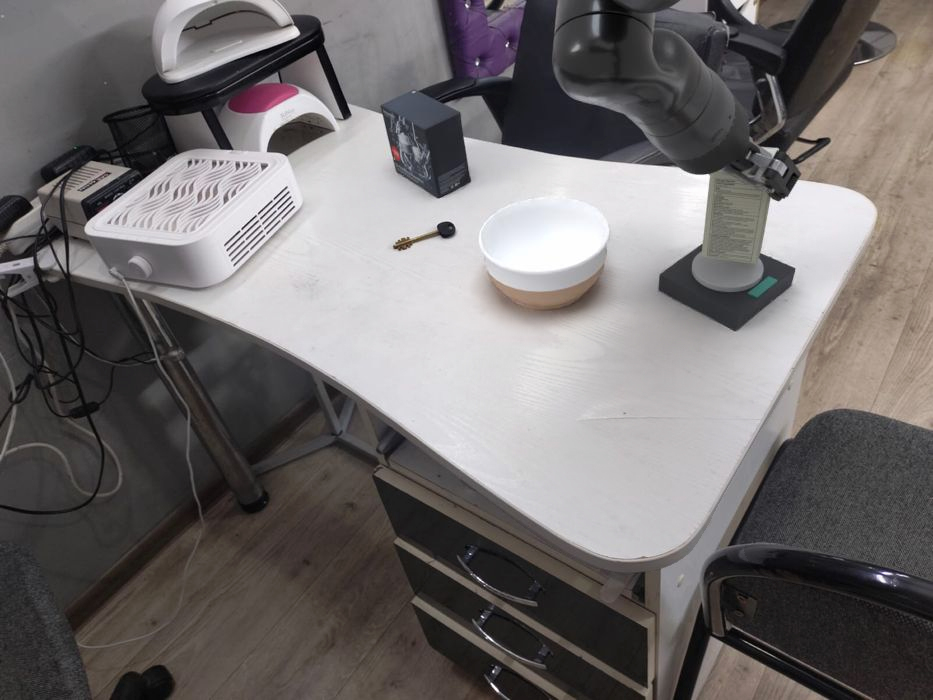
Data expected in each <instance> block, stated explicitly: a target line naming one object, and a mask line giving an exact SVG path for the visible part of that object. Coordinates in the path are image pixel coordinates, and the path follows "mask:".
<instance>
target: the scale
mask: <svg viewBox="0 0 933 700" xmlns="http://www.w3.org/2000/svg"><path fill="white" fill-rule="evenodd" d="M702 246H703V243H701V244H700V245H699V246H697V247H696V248H694V249H693V250H691V251H690V252H688V253H687V254H686V255H684V256H683V257H681V258H680V259H679V260H677V261H676V262H674V263H673V264H672V265H670V266H669V267H667V268H666V269H665V270H663V271H661V273H659V276H658V288H657V289H658V292H660V293H661V294H664V295H666V296H668V297H670V298H671V299H674V300H675V301H677V302H679V303H680V304H683V305H685V306H687V307H689V308H690V309H693V310H695V311H696V312H698V313H700V314H702V315H705V316H707V317H708V318H710V319H711V320H713V321H715V322H717V323H719V324H720V325H723V326H725V327H727V328H729V329H731V330H732V331H734V332H736V331H737V330H739V329H741V327H743V326H744V325H745V324H746V323H748V322H749V321H750V320H751V319H752V318H753V317H755V316H756V315H757V314H759V313H760V312H761V311H762V310H763V309H765V308H766V307H767V306H769V304H771V303H772V302H773V301H774V300H776V299H777V298H778V297H779V296H781V295H782V294H783V293H784V292H785V291H787V290H788V289H790V287H792V286H793V281H794V277H795V273H796V269H797V268H796V267H794V266H792V265H790V264H787V263H784V262H782V261H781V260H777V259H775V258H773V257H771V256H768V255H767V254H765V253H763V252H760V256H759V259H758V262H757V263H756V264H753V263H745V262H737V261H729V260H722V259H714V258H708V257H703V256H702Z"/></svg>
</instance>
